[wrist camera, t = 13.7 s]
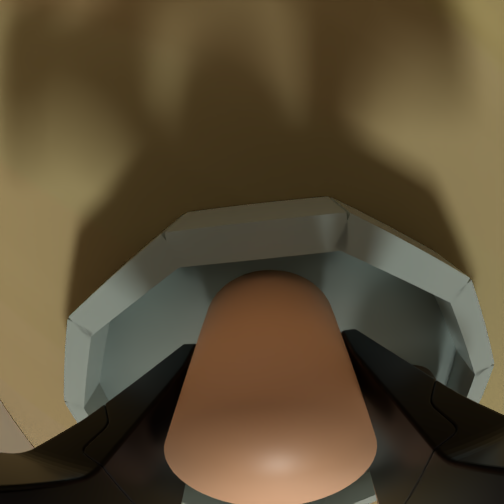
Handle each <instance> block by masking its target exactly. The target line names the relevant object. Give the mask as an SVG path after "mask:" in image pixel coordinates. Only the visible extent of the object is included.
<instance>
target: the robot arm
mask: <svg viewBox="0 0 504 504" xmlns="http://www.w3.org/2000/svg"><path fill="white" fill-rule="evenodd" d="M341 335H342V337H343V340H344V343H345V346H346V349H347V351H348V354H349V357H350V360H351V363H352V366H353V369H354V371H355V374H356V377H357V380H358V383H359V386H360V389H361V392H362V395H363V398H364V401H365V404H366V408H367V411H368V414H369V417H370V420H371V423H372V427H373V430H374V433H375V436H376V440H377V451H376V455H375V458H374V460H373V462H372V464H371V465H370V467H369V471H370V474H371V478H372V481H373V484H374V488H375V491H376V495H377V498H378V502H379V504H504V415H502V414H500V413H498V412H496V411H494V410H492V409H489V408H487V407H485V406H483V405H481V404H479V403H477V402H475V401H473V400H471V399H469V398H467V397H465V396H463V395H461V394H459V393H457V392H456V391H454V390H452V389H451V388H449V387H447V386H446V385H444V384H442V383H441V382H439V381H438V380H436V381H435V379H434V378H433V377H431V376H429V375H428V374H426V373H425V372H423V371H421V370H420V369H418V368H417V367H415V366H413V365H412V364H410V363H409V362H407V361H406V360H404V359H402V358H401V357H399V356H398V355H396V354H394V353H393V352H391V351H390V350H388V349H387V348H385V347H383V346H382V345H380V344H379V343H377V342H375V341H374V340H372V339H371V338H369V337H368V336H366V335H364V334H363V333H361V332H360V331H358V330H356V329H349V330H343V331H342V332H341ZM195 347H196V344H183V345H182V346H180V347H179V348H178V349H177V350H175V351H174V352H173V353H171V354H170V355H169V356H168V357H166V358H165V359H164V360H162V361H161V362H160V363H158V364H157V365H156V366H155V367H153V368H152V369H151V370H149V371H148V372H147V373H145V374H144V375H143V376H141V377H140V378H139V379H138V380H136V381H135V382H134V383H132V384H131V385H130V386H128V387H127V388H126V389H124V390H123V391H122V392H120V393H119V394H118V395H116V396H115V397H114V398H112V399H111V400H109V401H108V402H107V403H106V405H103V406H101V407H100V408H99V409H97V410H96V411H95V412H93V413H92V414H90V415H89V416H87V417H86V418H84V419H83V420H82V421H80V422H78V423H77V424H75V425H74V426H72V427H70V428H69V429H67V430H65V431H64V432H62V433H60V434H58V435H57V436H55V437H53V438H52V439H50V440H48V441H46V442H45V443H43V444H41V445H39V446H37V447H36V448H34V449H32V450H29V451H26V452H21V453H3V452H0V504H181V503H182V499H183V494H184V489H185V485H186V483H184V482H183V481H182V480H181V479H179V477H178V476H177V475H176V474H175V473H174V472H173V471H172V470H171V468H170V467H169V465H168V463H167V461H166V458H165V454H164V444H165V440H166V437H167V434H168V431H169V427H170V424H171V421H172V418H173V415H174V412H175V408H176V405H177V402H178V399H179V396H180V393H181V390H182V386H183V383H184V380H185V377H186V374H187V371H188V368H189V365H190V362H191V359H192V356H193V353H194V350H195Z"/></svg>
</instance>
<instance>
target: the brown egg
mask: <svg viewBox="0 0 504 504" xmlns="http://www.w3.org/2000/svg"><path fill="white" fill-rule="evenodd" d="M376 451H377V440H376V436H375V433H374V430H373V427H372V423H371V420H370V417H369V414H368V411H367V408H366V404H365V401H364V398H363V395H362V392H361V389H360V386H359V383H358V380H357V377H356V374H355V371H354V369H353V366H352V363H351V360H350V357H349V354H348V351H347V349H346V346H345V343H344V340H343V337H342V335H341V332H340V329H339V326H338V324H337V321H336V318H335V315H334V313H333V310H332V307H331V305H330V303H329V301H328V299H327V298H326V296H325V295H324V293H323V292H322V291H321V290H320V289H319V288H318V287H317V286H316V285H315V284H313V283H312V282H310V281H309V280H307V279H306V278H304V277H301V276H299V275H297V274H294V273H291V272H286V271H281V270H261V271H255V272H251V273H247V274H244V275H242V276H240V277H237V278H235V279H234V280H232V281H230V282H229V283H228V284H226V285H225V286H224V287H223V288H222V289H221V290H220V291H219V292H218V293H217V294H216V295H215V297H214V298H213V300H212V301H211V303H210V305H209V308H208V311H207V314H206V317H205V319H204V322H203V325H202V328H201V331H200V334H199V337H198V340H197V343H196V347H195V350H194V353H193V356H192V359H191V362H190V365H189V368H188V371H187V374H186V377H185V380H184V383H183V386H182V390H181V393H180V396H179V399H178V402H177V405H176V408H175V412H174V415H173V418H172V421H171V424H170V427H169V431H168V434H167V437H166V440H165V444H164V454H165V458H166V461H167V463H168V465H169V467H170V468H171V470H172V471H173V472H174V473H175V474H176V475H177V476H178V477H179V479H181V480H182V481H183V482H184V483H186V484H187V485H189V486H190V487H192V488H193V489H195V490H197V491H199V492H201V493H203V494H205V495H207V496H210V497H212V498H215V499H218V500H221V501H225V502H229V503H233V504H303V503H308V502H312V501H315V500H318V499H322V498H324V497H327V496H330V495H332V494H334V493H336V492H338V491H340V490H342V489H344V488H346V487H347V486H349V485H350V484H352V483H353V482H355V481H356V480H357V479H358V478H360V477H361V476H362V475H363V474H364V473H365V472H366V470H367V469H368V468H369V467H370V465H371V464H372V462H373V460H374V458H375V455H376Z"/></svg>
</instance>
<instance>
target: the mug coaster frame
mask: <svg viewBox="0 0 504 504" xmlns="http://www.w3.org/2000/svg"><path fill="white" fill-rule="evenodd" d="M32 449H34V447H33V446H32V445H31V443H30V442H29V441H28V439H27V438H26V437H25V435H24V434H23V433H22V431H21V430H20V429H19V427H18V426H17V425H16V423H15V422H14V420H13V419H12V417H11V416H10V414H9V413H8V412H7V410H6V408H5V407H4V405H3V404H2V402H1V401H0V452H3V453H21V452H26V451H29V450H32Z"/></svg>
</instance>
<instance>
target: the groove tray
mask: <svg viewBox="0 0 504 504" xmlns="http://www.w3.org/2000/svg"><path fill="white" fill-rule="evenodd" d="M261 270H281V271H286V272H291V273H294V274H297V275H299V276H301V277H304V278H306V279H307V280H309V281H310V282H312V283H313V284H315V285H316V286H317V287H318V288H319V289H320V290H321V291H322V292H323V293H324V295H325V296H326V298H327V299H328V301H329V303H330V305H331V307H332V310H333V313H334V315H335V318H336V321H337V324H338V326H339V329H340V332H342V331H343V330H349V329H356V330H358V331H360V332H361V333H363V334H364V335H366V336H368V337H369V338H371V339H372V340H374V341H375V342H377V343H379V344H380V345H382V346H383V347H385V348H387V349H388V350H390V351H391V352H393V353H394V354H396V355H398V356H399V357H401V358H402V359H404V360H406V361H407V362H409V363H410V364H412V365H419V366H423V367H425V368H427V369H429V370H430V371H431V372H432V374H433V375H434V377H435V378H436V380H438V381H439V382H441V383H442V384H444V385H446V386H447V387H449V388H451V389H452V390H454V391H456V392H457V393H459V394H461V395H463V396H465V397H467V398H469V399H471V400H473V401H475V402H477V403H479V402H480V400H481V397H482V395H483V393H484V390H485V388H486V385H487V383H488V380H489V377H490V375H491V372H492V369H493V366H494V360H493V355H492V351H491V346H490V342H489V338H488V334H487V330H486V326H485V322H484V319H483V315H482V312H481V308H480V305H479V301H478V298H477V295H476V292H475V289H474V286H473V283H472V280H471V279H470V278H469V277H468V276H467V275H466V274H464V273H463V272H462V271H460V270H459V269H458V268H456V267H455V266H454V265H452V264H451V263H450V262H448V261H447V260H446V259H444V258H443V257H442V256H440V255H439V254H437V253H436V252H435V251H433V250H431V249H429V248H428V247H426V246H424V245H422V244H421V243H419V242H417V241H415V240H413V239H412V238H410V237H408V236H406V235H404V234H402V233H401V232H399V231H397V230H395V229H393V228H391V227H389V226H387V225H386V224H384V223H382V222H380V221H378V220H376V219H374V218H372V217H370V216H368V215H366V214H364V213H362V212H360V211H358V210H356V209H354V208H352V207H350V206H348V205H346V204H344V203H342V202H340V201H338V200H336V199H334V198H332V197H331V198H329V197H328V196H327V197H316V198H305V199H295V200H285V201H275V202H266V203H257V204H248V205H240V206H231V207H223V208H215V209H208V210H200V211H192V212H187V213H186V214H183V215H182V216H181V217H179V218H178V219H177V220H176V221H175V222H173V223H172V224H171V225H170V226H169V227H167V228H166V229H165V230H164V231H163V232H161V233H160V234H159V235H158V236H157V237H155V238H154V239H153V240H152V241H151V242H149V243H148V244H147V245H146V246H145V247H144V248H142V249H141V250H140V251H139V252H138V253H137V254H136V255H134V256H133V257H132V258H131V259H130V260H129V261H127V262H126V263H125V264H124V265H123V266H122V267H121V268H120V269H118V270H117V271H116V272H115V273H114V274H113V275H112V276H111V277H110V278H108V279H107V280H106V281H105V282H104V283H103V284H102V285H101V286H100V287H99V288H98V289H97V290H95V291H94V292H93V293H92V294H91V295H90V296H89V297H88V298H87V299H86V300H85V301H84V302H83V303H82V304H81V305H80V306H79V307H78V308H77V309H76V310H75V311H74V312H73V313H72V314H71V315H70V316H69V318H68V320H67V331H66V345H65V366H64V400H65V403H66V405H67V407H68V408H69V410H70V412H71V413H72V415H73V417H74V418H75V420H76V421H77V423H78V422H80V421H82V420H83V419H84V418H86V417H87V416H89V415H90V414H92V413H93V412H95V411H96V410H97V409H99V408H100V407H101V406H103V405H106V403H107V402H108V401H109V400H111V399H112V398H114V397H115V396H116V395H118V394H119V393H120V392H122V391H123V390H124V389H126V388H127V387H128V386H130V385H131V384H132V383H134V382H135V381H136V380H138V379H139V378H140V377H141V376H143V375H144V374H145V373H147V372H148V371H149V370H151V369H152V368H153V367H155V366H156V365H157V364H158V363H160V362H161V361H162V360H164V359H165V358H166V357H168V356H169V355H170V354H171V353H173V352H174V351H175V350H177V349H178V348H179V347H180V346H182V345H183V344H196V343H197V340H198V337H199V334H200V331H201V328H202V325H203V322H204V319H205V317H206V314H207V311H208V308H209V305H210V303H211V301H212V300H213V298H214V297H215V295H216V294H217V293H218V292H219V291H220V290H221V289H222V288H223V287H224V286H225V285H226V284H228V283H229V282H230V281H232V280H234V279H235V278H237V277H240V276H242V275H244V274H247V273H251V272H255V271H261ZM374 501H377V499H376V494H375V490H374V486H373V482H372V478H371V474H370V471H369V468H368V469H367V470H366V472H365V473H364V474H363V475H362V476H361V477H360V478H358V479H357V480H356V481H355V482H353V483H352V484H350V485H349V486H347V487H346V488H344V489H342V490H340V491H338V492H336V493H334V494H332V495H330V496H327V497H324V498H322V499H318V500H315V501H312V502H308V503H303V504H369V503H372V502H374ZM181 504H233V503H229V502H225V501H221V500H218V499H215V498H212V497H210V496H207V495H205V494H203V493H201V492H199V491H197V490H195V489H193V488H192V487H190V486H189V485H187V484H186V485H185V489H184V494H183V499H182V503H181Z"/></svg>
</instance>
